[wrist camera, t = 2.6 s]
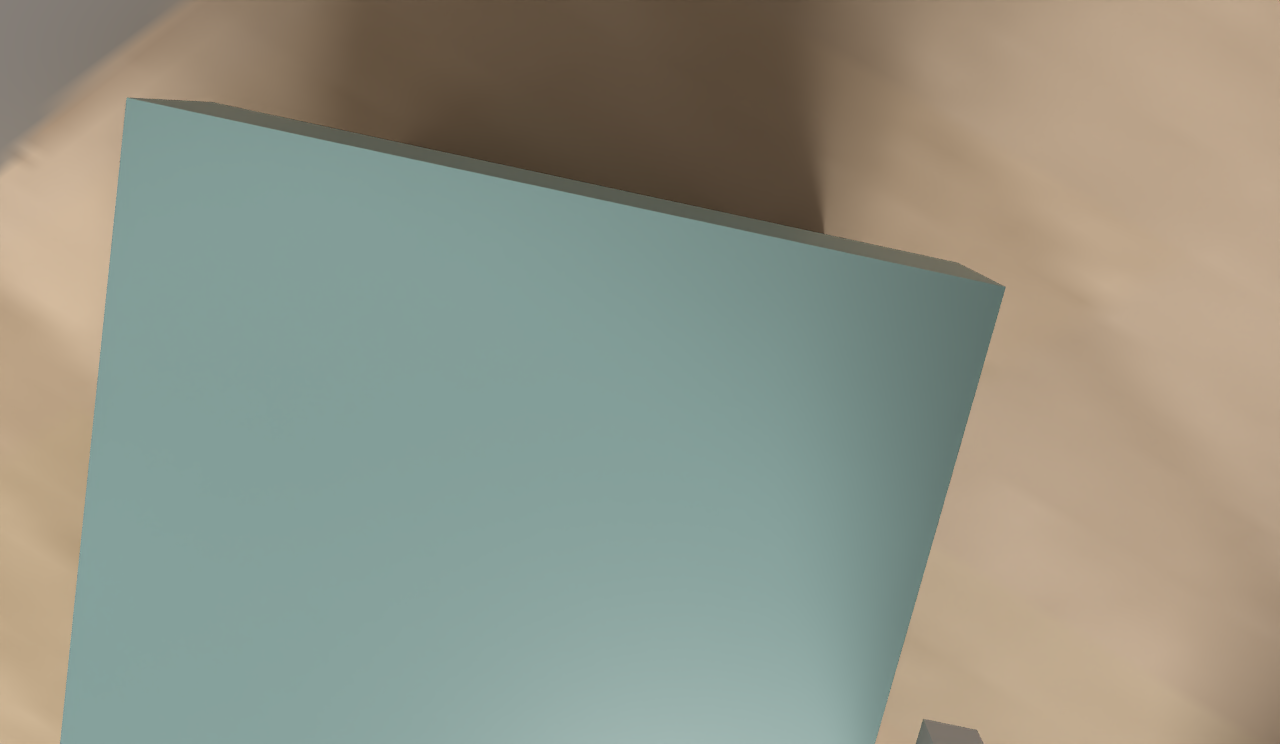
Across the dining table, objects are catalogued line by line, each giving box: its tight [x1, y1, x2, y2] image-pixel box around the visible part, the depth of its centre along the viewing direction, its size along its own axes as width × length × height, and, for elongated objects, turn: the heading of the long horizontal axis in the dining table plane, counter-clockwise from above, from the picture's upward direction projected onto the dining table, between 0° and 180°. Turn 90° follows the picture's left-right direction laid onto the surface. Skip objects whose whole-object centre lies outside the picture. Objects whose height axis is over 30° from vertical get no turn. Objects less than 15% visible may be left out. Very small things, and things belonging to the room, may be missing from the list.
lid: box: [60, 98, 1006, 744], centre depth 17 cm, size 11×15×4 cm
